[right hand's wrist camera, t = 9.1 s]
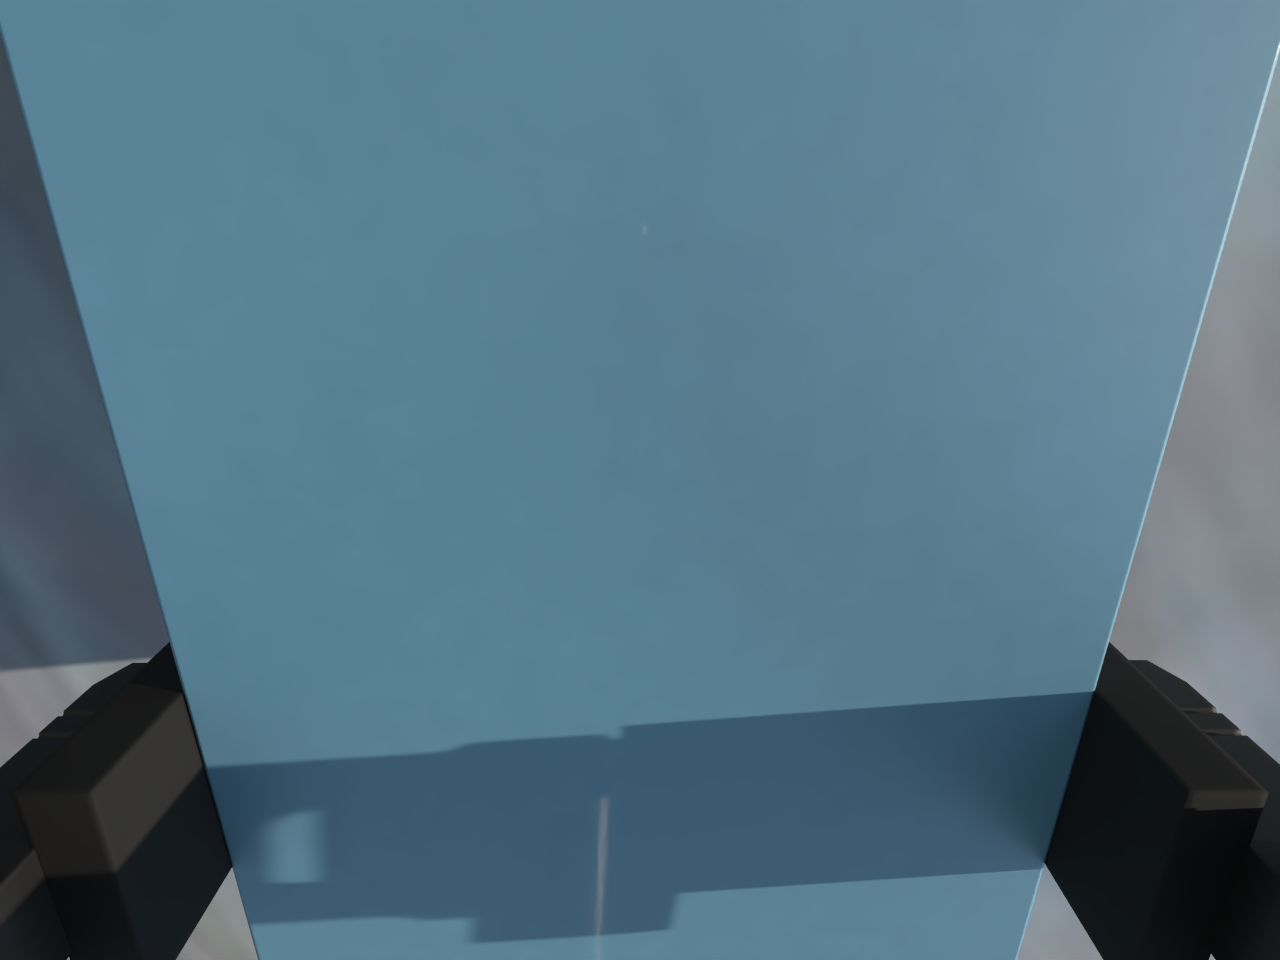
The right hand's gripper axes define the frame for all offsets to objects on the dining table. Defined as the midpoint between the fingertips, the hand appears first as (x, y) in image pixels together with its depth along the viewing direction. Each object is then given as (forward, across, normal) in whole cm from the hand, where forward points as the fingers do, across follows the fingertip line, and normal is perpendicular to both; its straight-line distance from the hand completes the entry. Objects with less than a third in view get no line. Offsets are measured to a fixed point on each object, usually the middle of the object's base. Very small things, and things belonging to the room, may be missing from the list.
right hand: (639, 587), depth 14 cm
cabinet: (+5, 0, -7) cm, 9 cm away
